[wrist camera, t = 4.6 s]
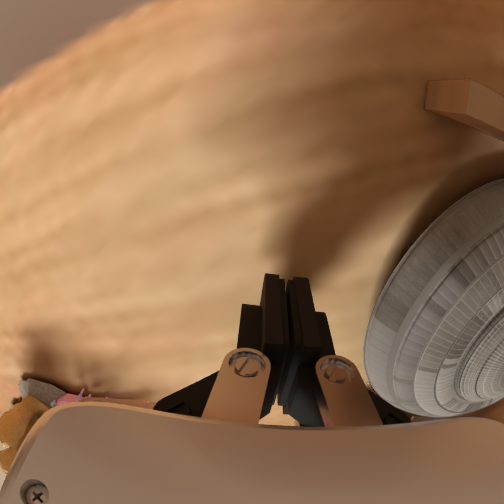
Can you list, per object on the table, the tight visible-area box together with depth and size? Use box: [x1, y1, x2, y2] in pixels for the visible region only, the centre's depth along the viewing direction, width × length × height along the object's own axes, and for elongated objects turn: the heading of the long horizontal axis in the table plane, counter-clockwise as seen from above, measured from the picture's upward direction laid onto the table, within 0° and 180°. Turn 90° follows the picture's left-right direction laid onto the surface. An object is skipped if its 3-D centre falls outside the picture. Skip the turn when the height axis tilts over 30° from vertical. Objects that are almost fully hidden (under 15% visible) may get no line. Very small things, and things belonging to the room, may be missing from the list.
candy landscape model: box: [0, 378, 108, 474], centre depth 19 cm, size 25×24×9 cm
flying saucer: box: [364, 178, 504, 417], centre depth 12 cm, size 15×15×6 cm
